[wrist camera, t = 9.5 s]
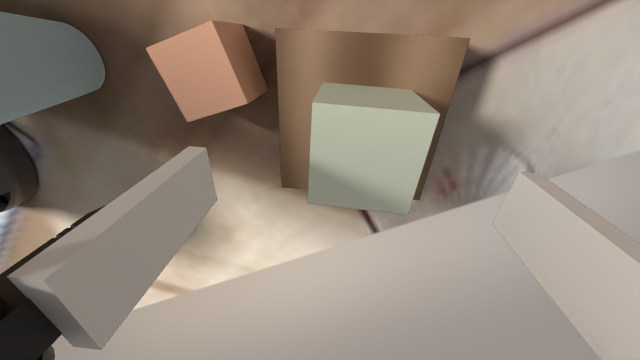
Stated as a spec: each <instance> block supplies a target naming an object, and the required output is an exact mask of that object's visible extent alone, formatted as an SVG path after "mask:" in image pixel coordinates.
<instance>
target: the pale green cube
mask: <svg viewBox="0 0 640 360" xmlns="http://www.w3.org/2000/svg"><path fill="white" fill-rule="evenodd" d="M439 116H440V113H438V112H437V111H436V110H435V109H434V108H432V107H431V106H430V105H429V104H428V103H426V102H425V101H424V100H423V99H422V98H421V97H419V96H418V95H417V94H416V93H415V92H413V91H412V90H408V89H396V88H385V87H373V86H361V85H350V84H338V83H326V82H323V84H322V86H321V87H320V89H319V91H318V93H317V95H316V97H315V98H314V100H313V102H312V120H311V141H310V162H309V183H308V204H317V205H326V206H334V207H343V208H352V209H361V210H370V211H379V212H388V213H397V214H406V215H408V213H409V209H410V206H411V203H412V200H413V197H414V194H415V191H416V188H417V185H418V181H419V178H420V175H421V172H422V169H423V166H424V163H425V160H426V156H427V153H428V150H429V147H430V144H431V141H432V138H433V135H434V132H435V128H436V125H437V122H438V119H439Z"/></svg>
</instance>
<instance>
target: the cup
mask: <svg viewBox="0 0 640 360" xmlns="http://www.w3.org/2000/svg"><path fill="white" fill-rule="evenodd" d="M104 80H105V68H104V63H103V60H102V58H101V56H100V54H99V52H98V50H97V49H96V47H95V46H94V45H93V43H92V42H91V41H90V40H89V39H88V38H87V37H86V36H85V35H84V34H83V33H82V32H80V31H79V30H77V29H76V28H74V27H73V26H71V25H69V24H66V23H63V22H58V21H52V20H46V19H40V18H35V17H29V16H23V15H17V14H11V13H5V12H0V125H1V124H4V123H7V122H10V121H12V120H15V119H18V118H21V117H24V116H26V115H29V114H32V113H35V112H38V111H40V110H43V109H46V108H49V107H52V106H54V105H57V104H60V103H63V102H66V101H68V100H71V99H74V98H77V97H80V96H82V95H85V94H88V93H90V92H93V91H95V90H97V89H99V88H100V87H101V86H102V84H103V82H104Z"/></svg>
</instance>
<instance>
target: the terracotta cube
mask: <svg viewBox="0 0 640 360" xmlns="http://www.w3.org/2000/svg"><path fill="white" fill-rule="evenodd" d="M146 50H147V52H148V54H149V55H150V57H151V59H152V61H153V62H154V64H155V66H156V68H157V69H158V71H159V73H160V75H161V77H162V78H163V80H164V82H165V84H166V85H167V87H168V89H169V91H170V92H171V94H172V96H173V98H174V99H175V101H176V103H177V105H178V106H179V108H180V110H181V112H182V113H183V115H184V117H185V119H186V120H187V122H190V121H194V120H197V119H200V118H203V117H206V116H210V115H213V114H216V113H219V112H223V111H226V110H229V109H232V108H235V107H239V106H242V105H245V104H248V103H249V102H251V101H253V100H254V99H256V98H257V97H259V96H260V95H262V94H263V93H265V92H266V91H268V89H267V86H266V83H265V81H264V78H263V76H262V73H261V70H260V68H259V65H258V63H257V60H256V57H255V55H254V52H253V50H252V47H251V44H250V42H249V39H248V37H247V34H246V31H245V29H244V26H243V24H236V23H228V22H220V21H213V20H211V21H209V22H207V23H204V24H202V25H199V26H197V27H195V28H192V29H190V30H187V31H185V32H183V33H180V34H178V35H176V36H173V37H171V38H168V39H166V40H164V41H161V42H159V43H156V44H154V45H152V46H149V47H147V48H146Z"/></svg>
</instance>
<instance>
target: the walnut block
mask: <svg viewBox="0 0 640 360" xmlns="http://www.w3.org/2000/svg"><path fill="white" fill-rule="evenodd" d="M275 36H276V60H277V84H278V108H279V132H280V156H281V180H282V187H285V188H296V189H306V190H308V183H309V162H310V141H311V120H312V102H313V100H314V98H315V97H316V95H317V93H318V91H319V89H320V87H321V86H322V84H323V82H326V83H338V84H350V85H361V86H373V87H385V88H396V89H408V90H412V91H413V92H415V93H416V94H417V95H418V96H419V97H421V98H422V99H423V100H424V101H425V102H426V103H428V104H429V105H430V106H431V107H432V108H434V109H435V110H436V111H437V112H438V113H440V116H439V119H438V122H437V125H436V128H435V132H434V135H433V138H432V141H431V144H430V147H429V150H428V153H427V156H426V160H425V163H424V166H423V169H422V172H421V175H420V178H419V181H418V185H417V188H416V191H415V194H414V197H413V200H420V197H421V194H422V190H423V187H424V184H425V181H426V178H427V175H428V171H429V168H430V165H431V162H432V159H433V155H434V152H435V149H436V146H437V143H438V139H439V136H440V133H441V130H442V127H443V124H444V120H445V117H446V114H447V111H448V108H449V104H450V101H451V98H452V95H453V92H454V89H455V85H456V82H457V79H458V76H459V73H460V69H461V66H462V63H463V60H464V57H465V53H466V50H467V47H468V44H469V41H470V38H457V37H438V36H419V35H399V34H380V33H361V32H341V31H322V30H303V29H283V28H275Z"/></svg>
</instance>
